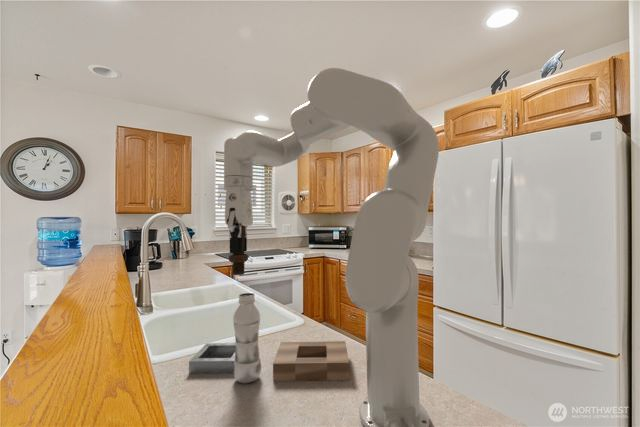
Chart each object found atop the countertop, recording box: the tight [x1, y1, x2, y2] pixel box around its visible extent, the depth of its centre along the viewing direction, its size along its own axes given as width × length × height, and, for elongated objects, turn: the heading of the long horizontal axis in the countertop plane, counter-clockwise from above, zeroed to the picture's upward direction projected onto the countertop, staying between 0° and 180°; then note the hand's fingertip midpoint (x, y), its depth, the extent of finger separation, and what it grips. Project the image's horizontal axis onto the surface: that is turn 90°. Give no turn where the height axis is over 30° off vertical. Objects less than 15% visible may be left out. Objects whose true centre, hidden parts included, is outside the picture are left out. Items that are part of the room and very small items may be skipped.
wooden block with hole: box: [272, 340, 351, 382], centre depth 72 cm, size 12×18×4 cm, turn 89°
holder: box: [188, 342, 236, 375], centre depth 75 cm, size 10×12×3 cm
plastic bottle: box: [232, 292, 262, 384], centre depth 67 cm, size 6×7×20 cm
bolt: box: [228, 223, 249, 276], centre depth 75 cm, size 6×5×15 cm
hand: (238, 251), depth 75 cm, fingers closed on bolt, 3 cm apart
